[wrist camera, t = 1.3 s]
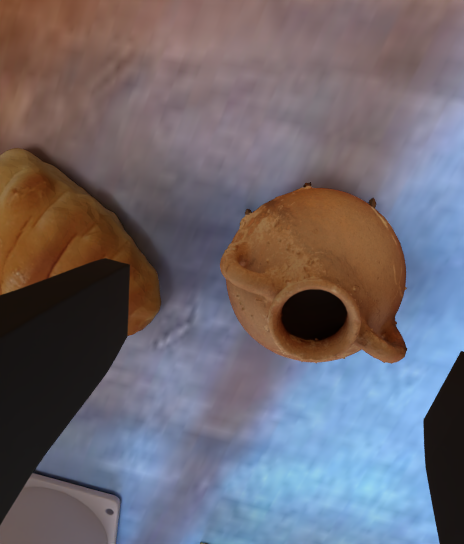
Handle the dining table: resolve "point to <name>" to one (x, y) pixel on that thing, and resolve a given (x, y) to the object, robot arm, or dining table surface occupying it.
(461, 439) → the robot arm
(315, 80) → the dining table surface
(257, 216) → the pot
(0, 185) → the pastry
